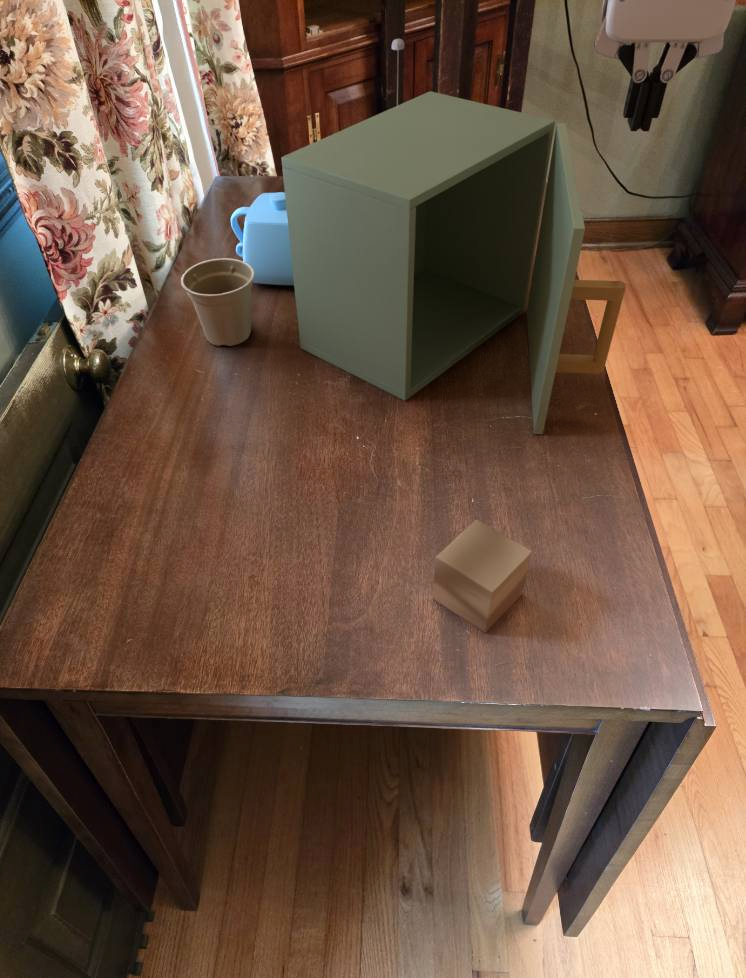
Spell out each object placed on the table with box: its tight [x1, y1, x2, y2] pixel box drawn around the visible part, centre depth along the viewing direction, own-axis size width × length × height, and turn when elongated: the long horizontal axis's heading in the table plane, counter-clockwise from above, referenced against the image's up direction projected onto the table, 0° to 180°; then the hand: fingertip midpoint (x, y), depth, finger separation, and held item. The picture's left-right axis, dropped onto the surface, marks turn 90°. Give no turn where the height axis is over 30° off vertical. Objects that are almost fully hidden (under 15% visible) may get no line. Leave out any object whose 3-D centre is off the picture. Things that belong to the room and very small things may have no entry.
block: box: [432, 519, 533, 634], centre depth 65 cm, size 6×6×6 cm
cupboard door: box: [526, 122, 627, 435], centre depth 82 cm, size 6×26×24 cm, turn 172°
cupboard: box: [281, 91, 556, 402], centre depth 89 cm, size 18×26×24 cm
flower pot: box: [180, 257, 254, 347], centre depth 96 cm, size 9×9×9 cm
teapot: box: [230, 191, 294, 286], centre depth 106 cm, size 12×18×12 cm
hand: (637, 125), depth 69 cm, fingers closed
